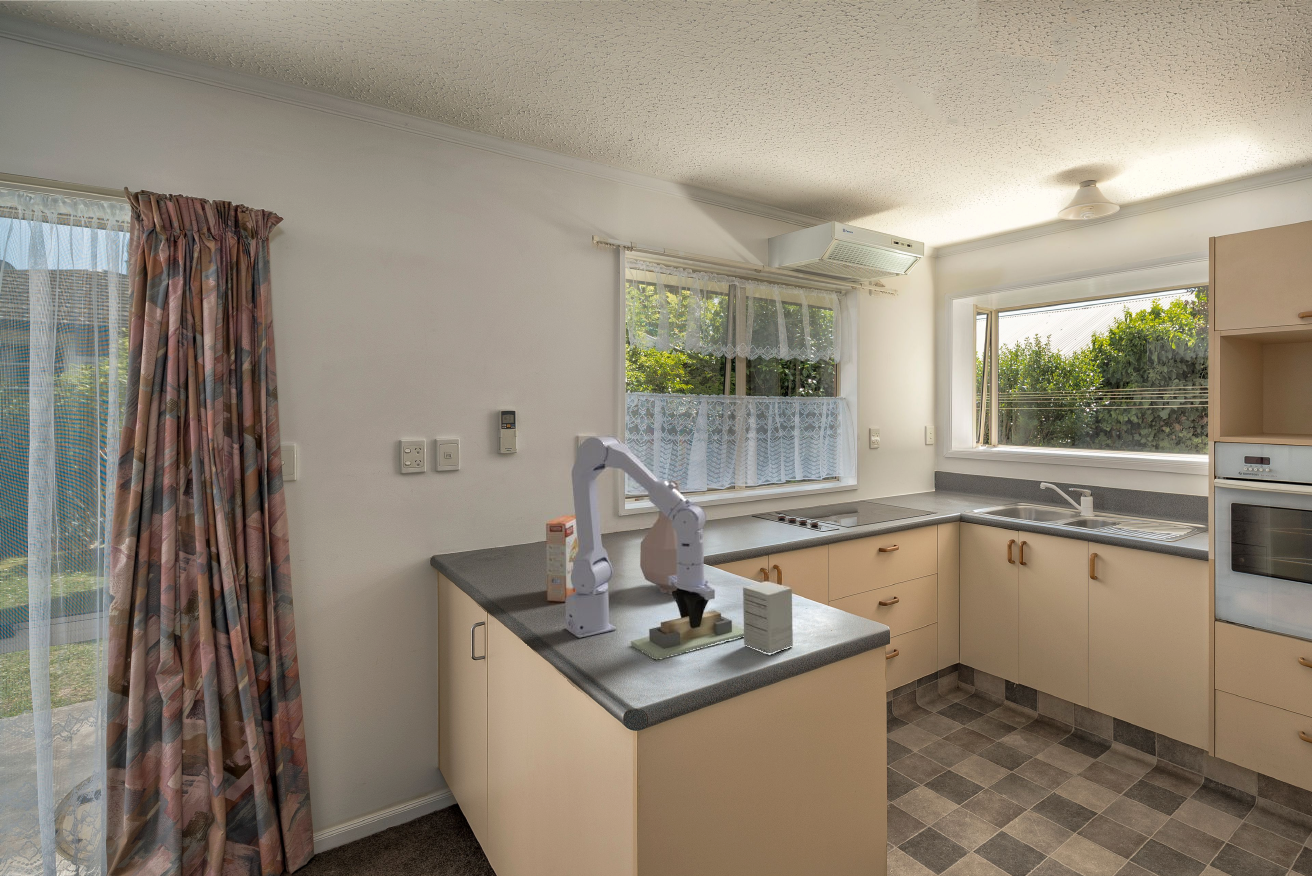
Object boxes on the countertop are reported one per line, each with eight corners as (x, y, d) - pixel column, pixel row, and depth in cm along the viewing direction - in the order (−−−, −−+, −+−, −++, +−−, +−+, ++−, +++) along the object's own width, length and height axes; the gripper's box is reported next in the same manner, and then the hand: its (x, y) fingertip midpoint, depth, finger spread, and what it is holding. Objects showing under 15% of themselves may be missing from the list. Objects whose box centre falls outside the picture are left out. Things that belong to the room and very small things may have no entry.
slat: (667, 644, 131) (667, 625, 131) (661, 641, 133) (660, 622, 133) (721, 631, 138) (721, 613, 138) (714, 628, 140) (714, 610, 140)
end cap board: (656, 660, 125) (655, 643, 125) (631, 645, 134) (630, 629, 134) (749, 636, 138) (749, 620, 138) (721, 623, 146) (721, 608, 146)
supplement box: (767, 638, 136) (766, 580, 136) (793, 648, 131) (793, 587, 130) (742, 646, 132) (741, 586, 132) (768, 656, 126) (768, 594, 126)
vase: (649, 602, 164) (647, 487, 163) (633, 584, 181) (631, 480, 180) (713, 595, 169) (711, 483, 168) (691, 579, 186) (690, 477, 185)
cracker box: (568, 602, 165) (566, 523, 164) (546, 602, 166) (544, 522, 165) (584, 588, 179) (583, 514, 178) (564, 587, 180) (562, 514, 179)
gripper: (726, 565, 131) (727, 630, 132) (686, 553, 143) (687, 612, 144) (698, 571, 127) (699, 637, 128) (660, 557, 140) (661, 618, 140)
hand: (691, 624), depth 136 cm, fingers closed on slat, 2 cm apart
